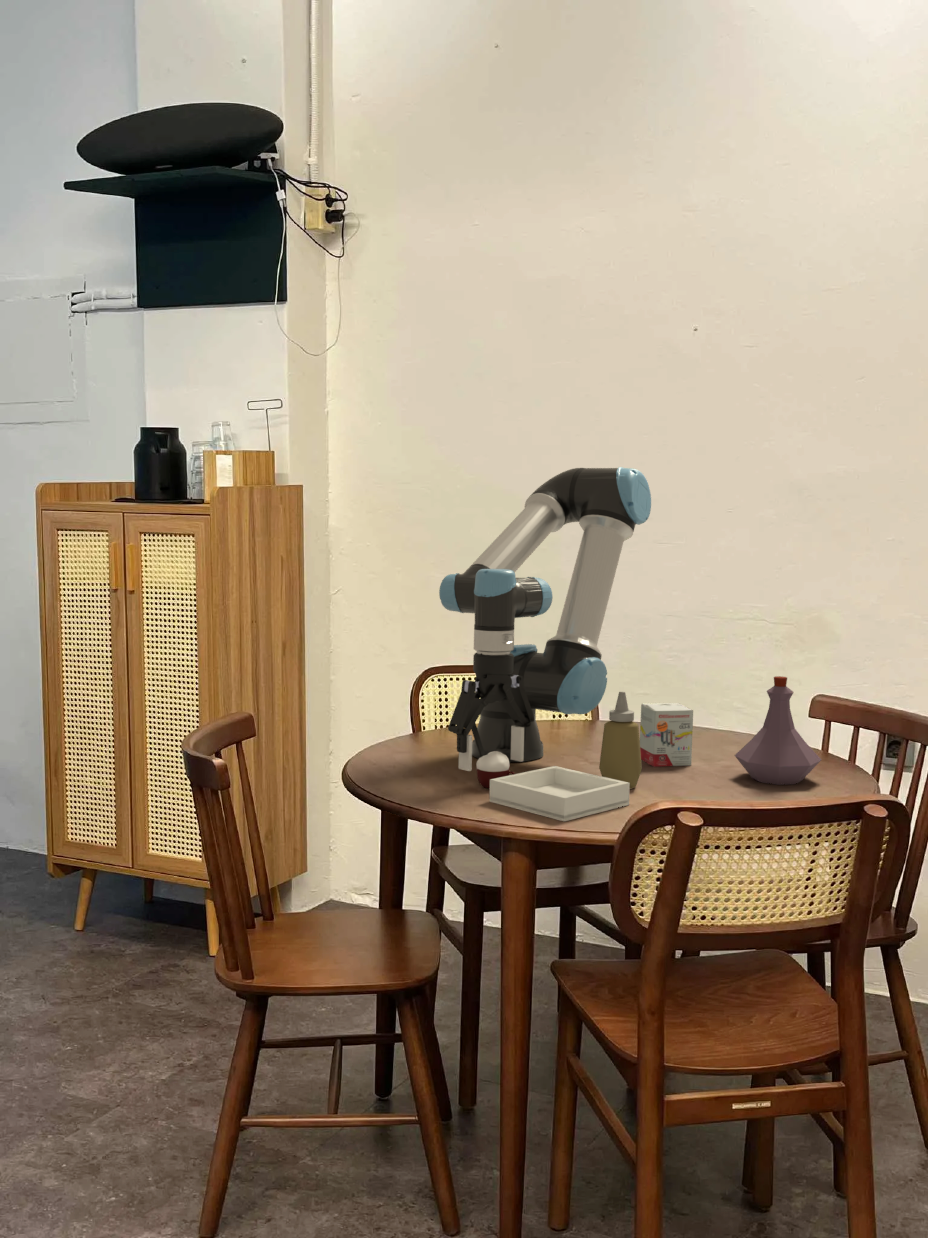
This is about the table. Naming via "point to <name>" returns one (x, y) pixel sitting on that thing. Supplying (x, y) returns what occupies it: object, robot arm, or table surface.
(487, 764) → the cocoa
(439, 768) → the table surface
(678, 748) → the ink box
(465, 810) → the table surface
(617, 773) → the squeeze bottle
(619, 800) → the tray
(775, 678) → the flask
